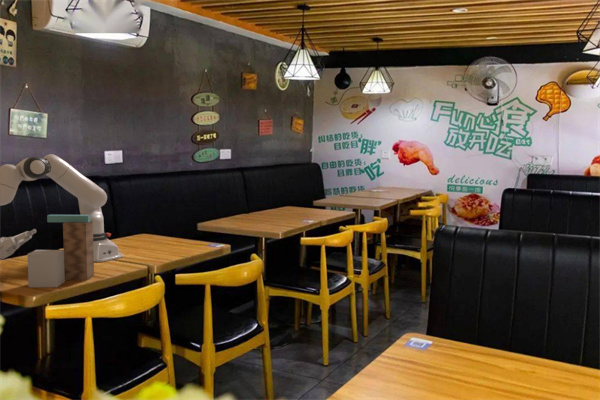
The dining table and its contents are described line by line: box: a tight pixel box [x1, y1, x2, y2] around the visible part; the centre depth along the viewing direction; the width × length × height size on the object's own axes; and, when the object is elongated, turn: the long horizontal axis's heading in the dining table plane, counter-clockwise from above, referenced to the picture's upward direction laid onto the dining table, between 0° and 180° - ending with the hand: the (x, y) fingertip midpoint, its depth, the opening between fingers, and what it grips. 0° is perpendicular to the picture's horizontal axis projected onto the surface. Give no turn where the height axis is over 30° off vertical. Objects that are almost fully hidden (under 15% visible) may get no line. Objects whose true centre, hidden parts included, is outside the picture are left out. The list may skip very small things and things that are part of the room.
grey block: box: [26, 249, 66, 288], centre depth 243 cm, size 12×9×14 cm
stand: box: [62, 220, 95, 282], centre depth 255 cm, size 10×10×26 cm
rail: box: [46, 214, 91, 223], centre depth 254 cm, size 18×4×3 cm, turn 94°
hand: (31, 232), depth 253 cm, fingers open, 8 cm apart
